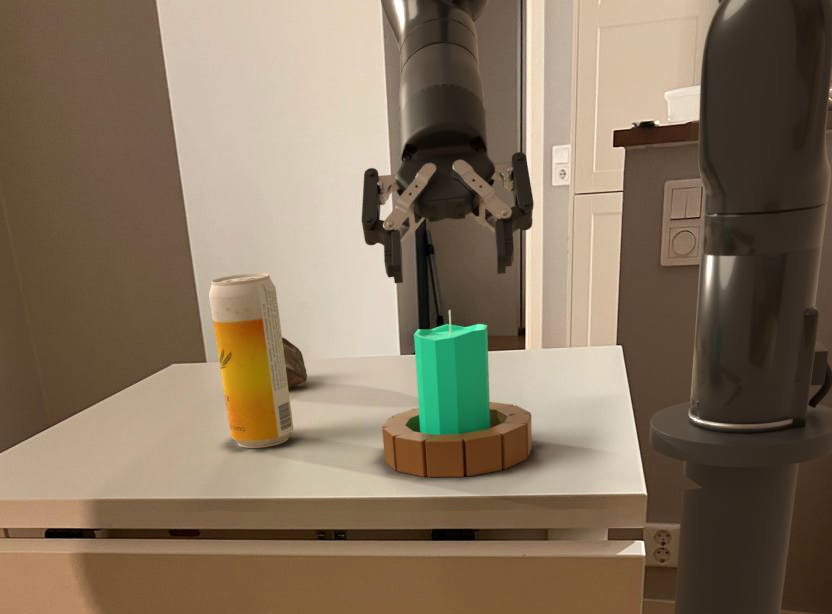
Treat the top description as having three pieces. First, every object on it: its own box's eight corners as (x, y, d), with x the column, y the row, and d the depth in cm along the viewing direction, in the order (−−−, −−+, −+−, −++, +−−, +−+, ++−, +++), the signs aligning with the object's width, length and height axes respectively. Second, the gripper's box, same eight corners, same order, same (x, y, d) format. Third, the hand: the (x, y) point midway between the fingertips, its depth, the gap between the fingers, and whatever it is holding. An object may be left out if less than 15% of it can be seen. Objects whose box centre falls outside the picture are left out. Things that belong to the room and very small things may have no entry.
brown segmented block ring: (536, 432, 86) (536, 399, 85) (522, 476, 76) (521, 439, 74) (403, 435, 90) (400, 403, 88) (371, 478, 79) (368, 442, 78)
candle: (505, 453, 82) (502, 307, 76) (448, 469, 79) (440, 319, 74) (463, 439, 86) (458, 301, 81) (408, 454, 84) (398, 313, 78)
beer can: (249, 431, 96) (226, 274, 90) (304, 432, 94) (284, 271, 87) (221, 449, 91) (194, 284, 85) (278, 450, 89) (255, 281, 82)
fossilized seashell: (220, 365, 116) (245, 393, 108) (243, 314, 114) (269, 339, 106) (272, 387, 120) (300, 415, 113) (295, 338, 118) (325, 364, 110)
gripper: (356, 91, 81) (358, 249, 76) (525, 71, 79) (539, 231, 74) (366, 159, 88) (369, 308, 83) (522, 142, 86) (534, 293, 81)
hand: (449, 272), depth 79 cm, fingers open, 8 cm apart
